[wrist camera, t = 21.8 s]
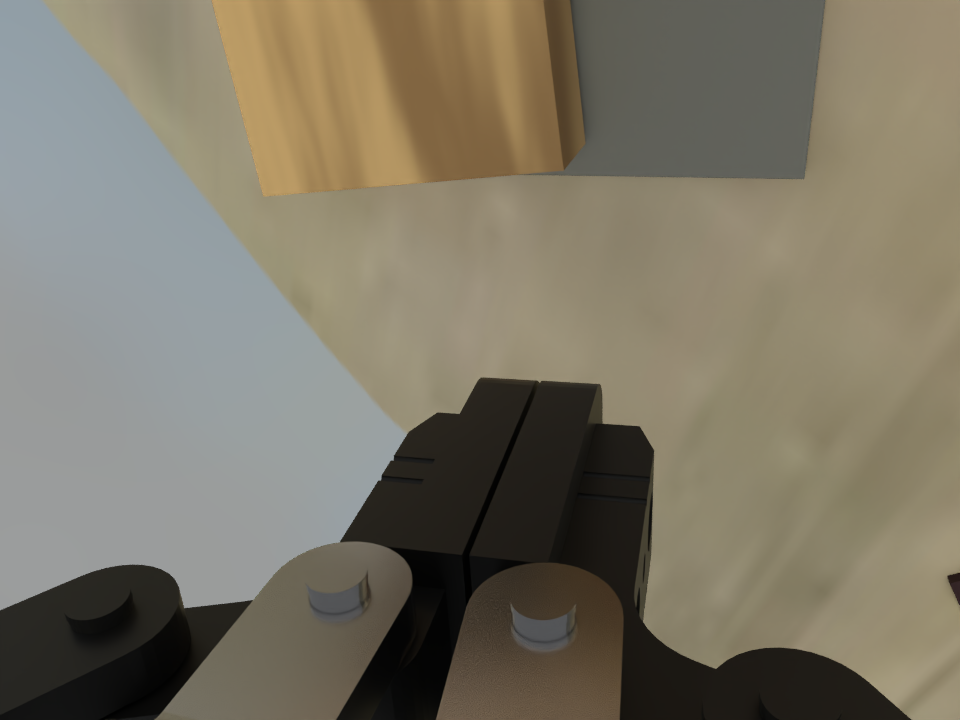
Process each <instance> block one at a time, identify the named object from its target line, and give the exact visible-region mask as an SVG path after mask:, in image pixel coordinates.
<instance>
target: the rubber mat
mask: <svg viewBox="0 0 960 720" xmlns="http://www.w3.org/2000/svg"><path fill="white" fill-rule="evenodd" d="M570 4H571V13H572V23H573V32H574V41H575V50H576V60H577V69H578V78H579V87H580V96H581V106H582V115H583V124H584V133H585V143H586V144H585V145H584V146H583V147H582V149H581V150H580V151H579V152H578V154H577V155H576V156H575V157H574V158H573V160H572V161H571V162H570V163H569V165H568V166H567V167H566V168H565V170H564V171H553V172H542V173H530V174H519V175H572V176H637V177H702V178H766V179H804V177H805V169H806V160H807V152H808V143H809V135H810V126H811V118H812V109H813V101H814V92H815V83H816V75H817V66H818V58H819V49H820V41H821V32H822V24H823V15H824V7H825V0H570Z"/></svg>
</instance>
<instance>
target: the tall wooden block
mask: <svg viewBox="0 0 960 720" xmlns="http://www.w3.org/2000/svg"><path fill="white" fill-rule="evenodd" d="M212 4H213V8H214V11H215V15H216V19H217V23H218V27H219V30H220V34H221V38H222V42H223V45H224V49H225V53H226V57H227V61H228V64H229V68H230V72H231V76H232V79H233V83H234V87H235V91H236V94H237V98H238V102H239V106H240V110H241V113H242V117H243V121H244V125H245V128H246V132H247V136H248V140H249V144H250V147H251V151H252V155H253V159H254V162H255V166H256V170H257V174H258V177H259V181H260V185H261V189H262V193H263V196H276V195H287V194H299V193H310V192H322V191H334V190H345V189H357V188H368V187H380V186H391V185H403V184H415V183H426V182H438V181H449V180H461V179H472V178H484V177H496V176H507V175H519V174H530V173H542V172H553V171H564V170H565V168H566V167H567V166H568V165H569V163H570V162H571V161H572V160H573V158H574V157H575V156H576V155H577V154H578V152H579V151H580V150H581V149H582V147H583V146H584V145H585V144H586V143H585V133H584V124H583V115H582V106H581V96H580V87H579V78H578V69H577V60H576V50H575V41H574V32H573V23H572V13H571V4H570V0H212Z"/></svg>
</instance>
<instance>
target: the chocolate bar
mask: <svg viewBox="0 0 960 720" xmlns="http://www.w3.org/2000/svg"><path fill="white" fill-rule="evenodd" d="M948 579H949V582H950V585H951V587H952V589H953V592H954V594H955V596H956V598H957V601H958V603H959V605H960V573H957V574H953V575H949V576H948Z"/></svg>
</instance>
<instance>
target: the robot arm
mask: <svg viewBox="0 0 960 720" xmlns="http://www.w3.org/2000/svg"><path fill="white" fill-rule="evenodd" d="M653 471H654V449H653V448H652V446H651V445H650V443H649V441H648V440H647V438H646V436H645V435H644V433H643V431H642V430H641V428H640V426H626V425H611V424H602V390H601V385H600V384H587V383H570V382H553V381H541V382H540V383H539V382H538V381H533V380H516V379H499V378H480V379H479V380H478V382H477V383H476V385H475V387H474V389H473V391H472V393H471V394H470V396H469V398H468V400H467V402H466V403H465V405H464V407H463V409H462V411H461V413H460V414H451V413H436V414H435V415H433V416H432V417H430V418H429V419H427V420H426V421H424V422H423V423H421V424H420V425H418V426H417V427H416V428H414V429H413V430H411V431H410V432H409V433H408V434H407V436H406V437H405V439H404V441H403V442H402V444H401V445H400V447H399V449H398V450H397V452H396V454H395V455H394V461H390V463H389V465H388V466H387V468H386V469H385V471H384V473H383V474H382V479H381V481H378V482H377V484H376V485H375V487H374V488H373V490H372V492H371V494H370V495H369V497H368V498H367V500H366V501H365V503H364V504H363V506H362V508H361V510H360V511H359V512H358V514H357V516H356V517H355V519H354V520H353V522H352V524H351V525H350V527H349V528H348V530H347V531H346V533H345V535H344V537H343V538H342V539H341V541H340V543H333V544H328V545H324V546H321V547H317V548H314V549H312V550H309V551H307V552H305V553H302V554H301V555H298V556H297V557H296V558H293V559H292V560H290V561H289V562H288V563H286V564H285V565H284V566H282V567H281V568H280V569H279V570H278V571H277V572H276V573H275V574H274V575H273V577H272V578H271V579H270V580H269V582H268V583H267V584H266V585H265V586H264V588H263V589H262V590H261V591H260V593H259V594H258V595H257V596H256V597H255V599H254V600H251V601H245V602H236V603H228V604H218V605H210V606H201V607H192V608H184V605H183V602H182V598H181V594H180V590H179V587H178V585H177V583H176V581H175V579H174V578H173V577H172V576H171V575H170V574H168V573H166V572H165V571H163V570H161V569H158V568H155V567H151V566H145V565H122V566H115V567H109V568H105V569H101V570H97V571H94V572H91V573H88V574H86V575H83V576H80V577H78V578H76V579H73V580H71V581H69V582H66V583H64V584H61V585H59V586H57V587H54V588H52V589H50V590H47V591H45V592H43V593H40V594H38V595H36V596H33V597H31V598H28V599H26V600H24V601H21V602H19V603H17V604H14V605H12V606H10V607H7V608H5V609H3V610H0V720H911V719H910V718H909V717H908V716H907V715H905V714H904V713H903V712H902V711H901V710H900V709H899V708H897V707H896V706H895V705H894V704H893V703H892V702H891V701H889V700H888V699H887V698H886V697H885V696H884V695H883V694H881V693H880V692H879V691H878V690H877V689H876V688H875V687H873V686H872V685H871V684H870V683H869V682H867V681H866V680H865V679H864V678H862V677H861V676H860V675H858V674H857V673H856V672H854V671H852V670H851V669H849V668H847V667H846V666H844V665H842V664H840V663H838V662H836V661H834V660H831V659H829V658H827V657H824V656H821V655H818V654H815V653H812V652H807V651H802V650H797V649H789V648H763V649H757V650H751V651H748V652H745V653H742V654H738V655H736V656H734V657H733V658H731V659H729V660H727V661H725V662H724V663H723V664H722V665H720V666H719V667H718V668H717V669H714V668H711V667H709V666H706V665H704V664H701V663H699V662H696V661H694V660H691V659H689V658H687V657H685V656H683V655H680V654H679V653H677V652H675V651H674V650H672V649H670V648H669V647H667V646H666V645H665V644H663V643H662V642H661V641H660V640H658V639H657V638H656V637H655V636H654V635H653V634H652V633H651V632H650V631H649V630H648V629H647V627H646V626H645V624H644V623H643V617H644V608H645V600H646V592H647V584H648V576H649V568H650V560H651V543H652V507H653Z"/></svg>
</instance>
